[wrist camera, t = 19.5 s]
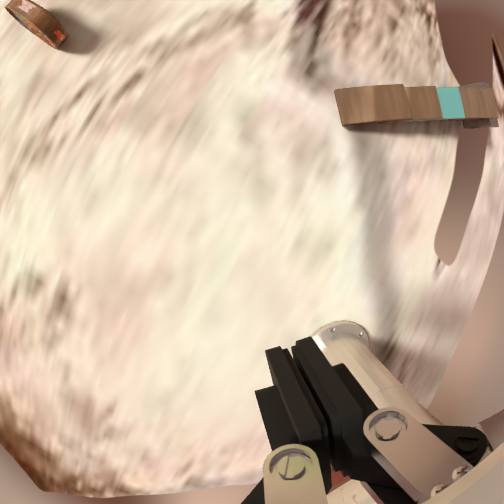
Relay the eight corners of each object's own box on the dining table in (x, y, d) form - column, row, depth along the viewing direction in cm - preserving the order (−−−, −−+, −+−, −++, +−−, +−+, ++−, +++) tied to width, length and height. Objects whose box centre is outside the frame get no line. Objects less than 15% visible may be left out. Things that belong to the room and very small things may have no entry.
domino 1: (334, 92, 35) (399, 86, 33) (342, 125, 37) (407, 119, 35) (335, 89, 34) (403, 84, 32) (343, 124, 35) (411, 117, 33)
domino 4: (422, 92, 37) (474, 89, 32) (429, 120, 39) (481, 118, 33) (422, 90, 36) (476, 87, 30) (429, 119, 37) (483, 117, 32)
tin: (19, 23, 23) (-5, 4, 15) (32, 9, 23) (10, -12, 15) (63, 56, 28) (38, 34, 19) (78, 39, 27) (56, 15, 19)
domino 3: (400, 92, 37) (455, 89, 33) (407, 122, 38) (461, 118, 34) (401, 90, 35) (458, 87, 31) (408, 121, 36) (465, 117, 32)
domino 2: (372, 92, 36) (431, 88, 33) (380, 123, 38) (439, 119, 34) (374, 90, 34) (435, 86, 31) (382, 122, 36) (443, 118, 33)
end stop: (472, 128, 40) (498, 127, 34) (463, 128, 40) (491, 126, 33) (463, 88, 38) (489, 83, 31) (454, 87, 38) (480, 82, 31)
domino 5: (443, 93, 38) (492, 89, 30) (449, 120, 39) (498, 117, 31) (441, 92, 37) (491, 88, 29) (447, 120, 38) (498, 117, 30)
